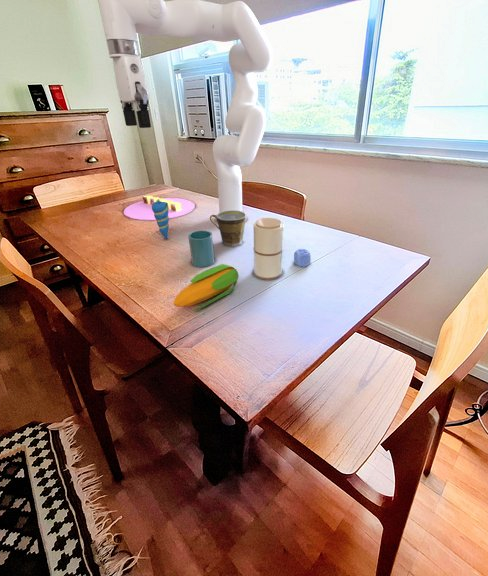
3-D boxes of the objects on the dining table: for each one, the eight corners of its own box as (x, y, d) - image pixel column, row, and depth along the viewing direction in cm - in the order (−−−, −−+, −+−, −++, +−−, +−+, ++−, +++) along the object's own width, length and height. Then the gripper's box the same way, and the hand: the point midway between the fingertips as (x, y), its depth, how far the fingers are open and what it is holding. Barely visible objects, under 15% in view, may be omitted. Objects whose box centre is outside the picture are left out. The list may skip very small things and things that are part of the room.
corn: (245, 262, 76) (181, 295, 63) (247, 287, 80) (187, 324, 67) (225, 255, 80) (161, 285, 68) (228, 280, 84) (168, 312, 71)
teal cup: (197, 255, 96) (194, 229, 91) (217, 257, 95) (215, 231, 90) (188, 265, 91) (184, 238, 86) (209, 268, 89) (206, 240, 84)
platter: (164, 194, 156) (162, 188, 154) (209, 205, 141) (208, 198, 139) (108, 211, 134) (106, 203, 132) (155, 225, 119) (153, 217, 117)
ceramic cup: (250, 239, 107) (250, 211, 102) (240, 250, 99) (239, 221, 94) (217, 234, 111) (215, 208, 105) (205, 245, 103) (202, 217, 98)
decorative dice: (305, 259, 93) (306, 248, 91) (309, 265, 90) (311, 254, 88) (293, 260, 93) (294, 249, 91) (297, 267, 90) (298, 255, 87)
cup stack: (257, 264, 91) (257, 215, 83) (283, 267, 89) (286, 218, 81) (250, 277, 84) (249, 226, 76) (278, 281, 83) (281, 229, 74)
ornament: (169, 242, 105) (161, 200, 97) (155, 241, 106) (146, 199, 97) (175, 237, 109) (168, 196, 101) (162, 236, 110) (154, 195, 102)
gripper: (152, 49, 73) (164, 127, 82) (126, 55, 84) (138, 124, 93) (121, 45, 69) (137, 129, 78) (98, 53, 80) (114, 125, 89)
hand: (138, 126), depth 86 cm, fingers open, 9 cm apart
